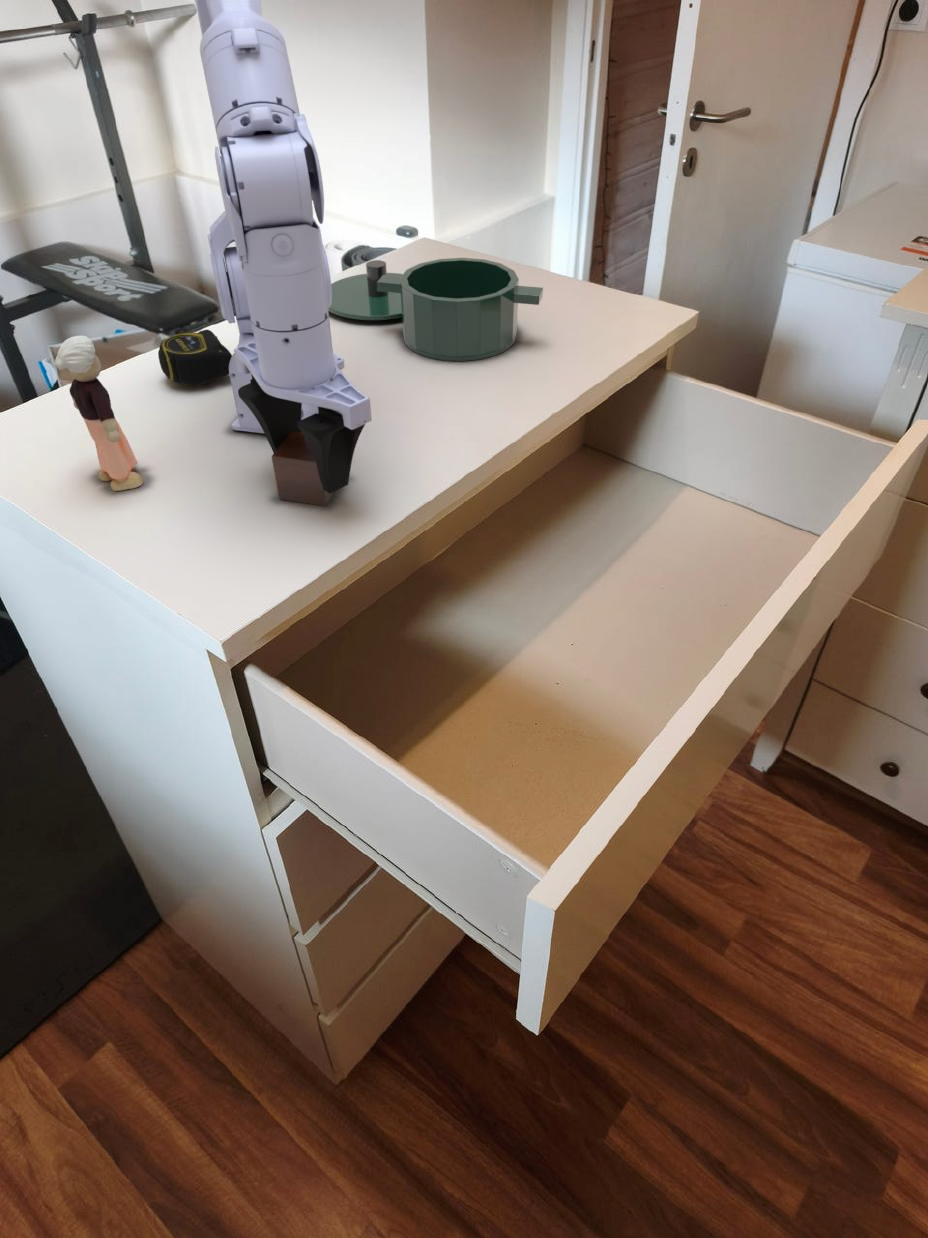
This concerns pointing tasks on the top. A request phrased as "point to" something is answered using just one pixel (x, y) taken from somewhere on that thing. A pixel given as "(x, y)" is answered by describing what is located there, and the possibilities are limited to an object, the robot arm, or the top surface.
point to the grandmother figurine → (98, 413)
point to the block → (298, 472)
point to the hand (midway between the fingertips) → (313, 473)
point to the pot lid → (365, 296)
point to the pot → (459, 307)
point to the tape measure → (194, 358)
